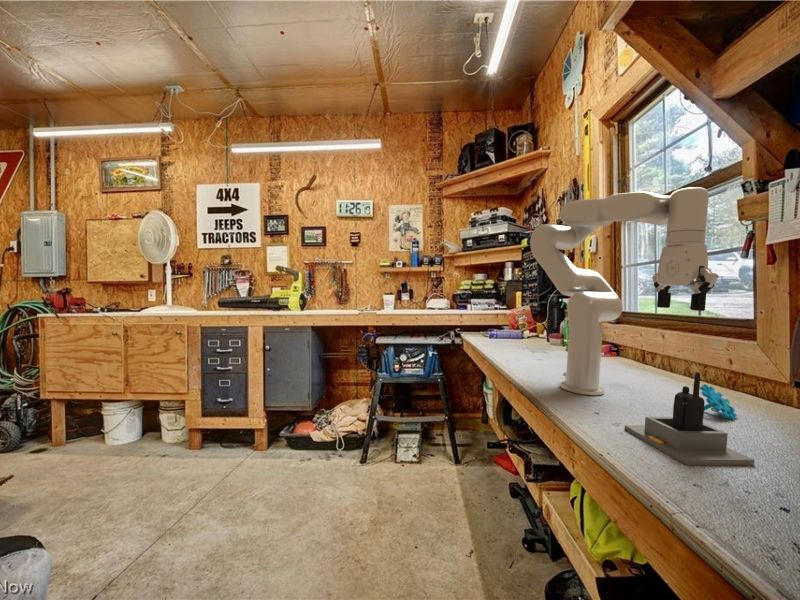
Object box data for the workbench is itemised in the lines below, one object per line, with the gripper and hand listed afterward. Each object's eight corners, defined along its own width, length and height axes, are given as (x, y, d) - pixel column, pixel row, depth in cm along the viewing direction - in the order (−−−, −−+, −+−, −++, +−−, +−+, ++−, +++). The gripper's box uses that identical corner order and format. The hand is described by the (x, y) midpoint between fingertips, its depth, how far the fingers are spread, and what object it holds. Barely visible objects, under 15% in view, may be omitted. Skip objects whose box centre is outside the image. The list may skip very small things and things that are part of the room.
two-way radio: (705, 446, 72) (711, 374, 71) (687, 447, 71) (693, 374, 70) (680, 435, 77) (685, 367, 77) (662, 435, 77) (668, 367, 76)
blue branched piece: (727, 417, 88) (698, 381, 95) (704, 427, 92) (678, 392, 99) (748, 418, 93) (719, 384, 100) (725, 427, 97) (699, 394, 103)
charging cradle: (624, 429, 82) (625, 410, 82) (680, 430, 83) (681, 411, 83) (685, 465, 66) (687, 441, 66) (754, 465, 67) (756, 441, 67)
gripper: (643, 243, 95) (639, 306, 96) (704, 234, 78) (697, 311, 79) (669, 244, 96) (664, 307, 97) (734, 236, 79) (728, 312, 80)
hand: (679, 308), depth 88 cm, fingers open, 9 cm apart
